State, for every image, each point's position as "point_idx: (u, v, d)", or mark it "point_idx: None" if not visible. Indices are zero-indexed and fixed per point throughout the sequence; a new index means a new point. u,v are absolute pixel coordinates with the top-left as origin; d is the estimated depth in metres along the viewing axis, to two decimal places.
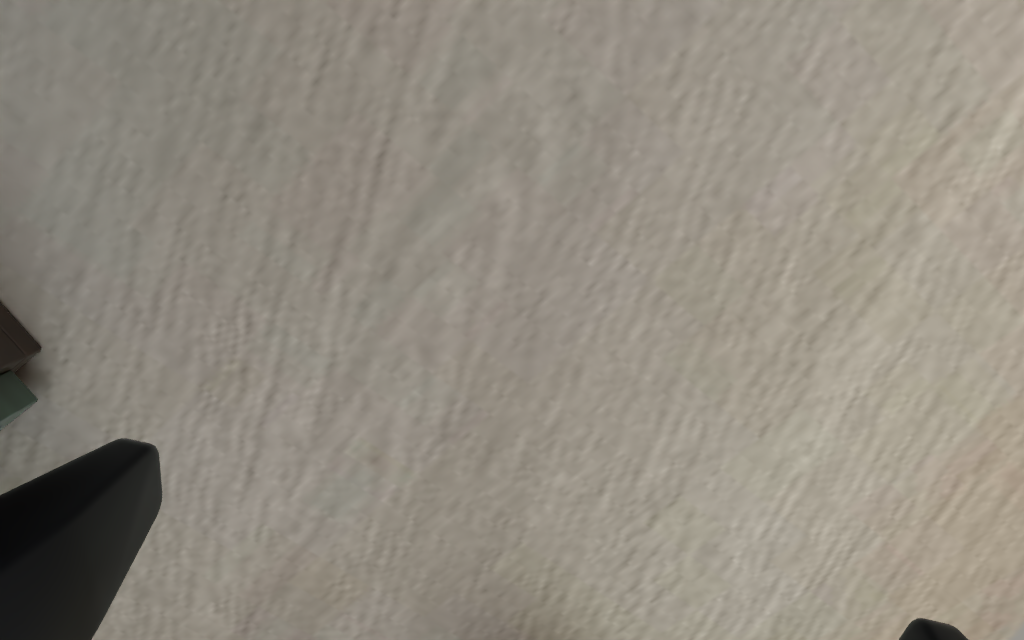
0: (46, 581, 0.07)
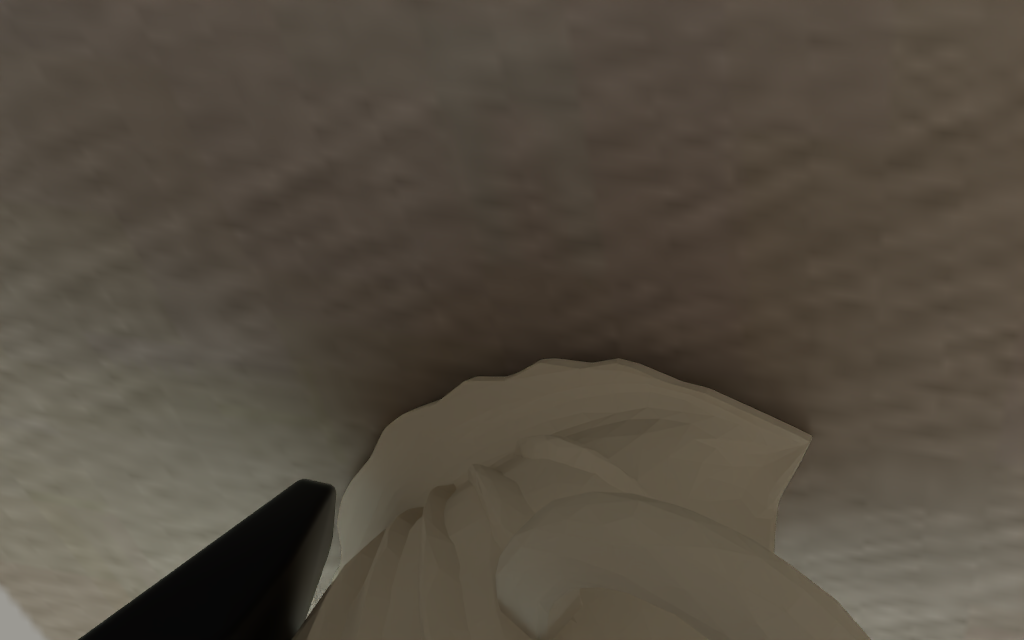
0: (263, 632, 0.07)
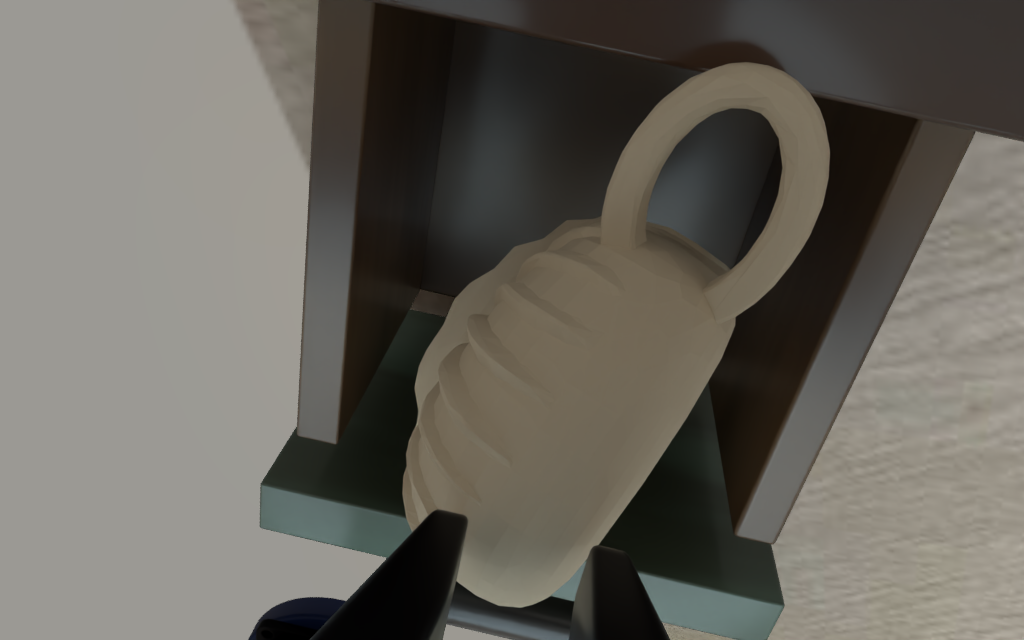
0: None
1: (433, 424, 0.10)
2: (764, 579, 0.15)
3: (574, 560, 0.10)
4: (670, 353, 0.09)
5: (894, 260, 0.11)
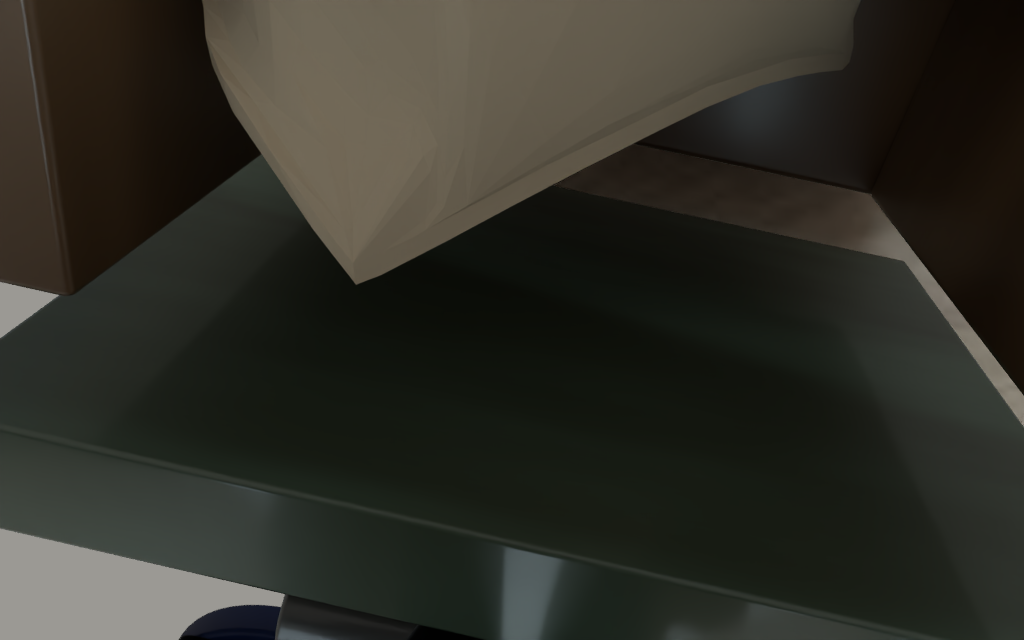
0: None
1: None
2: None
3: None
4: None
5: None
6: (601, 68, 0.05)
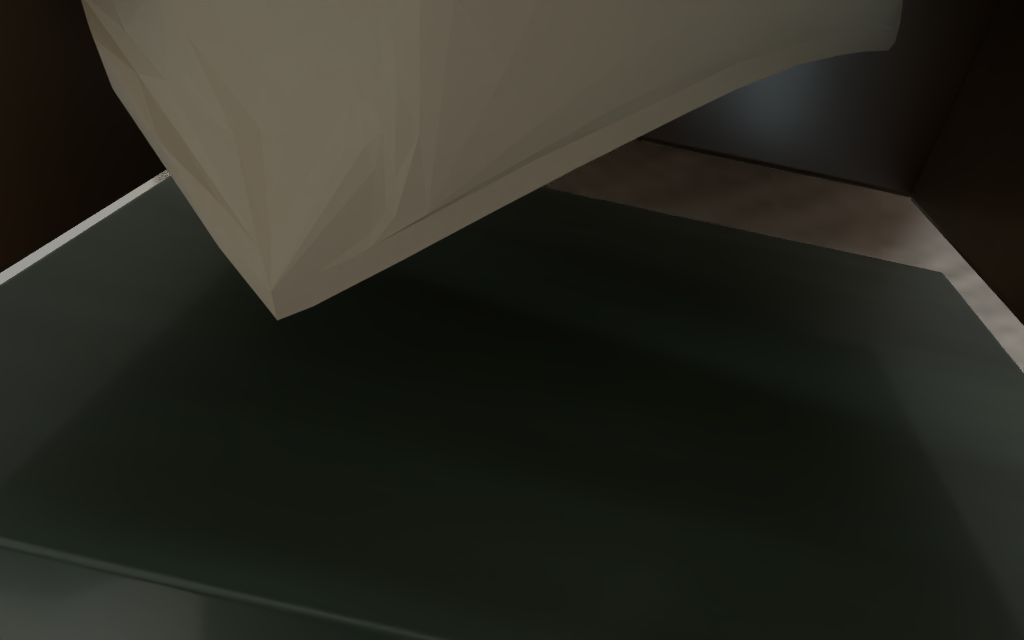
0: None
1: None
2: None
3: None
4: None
5: None
6: (605, 30, 0.04)
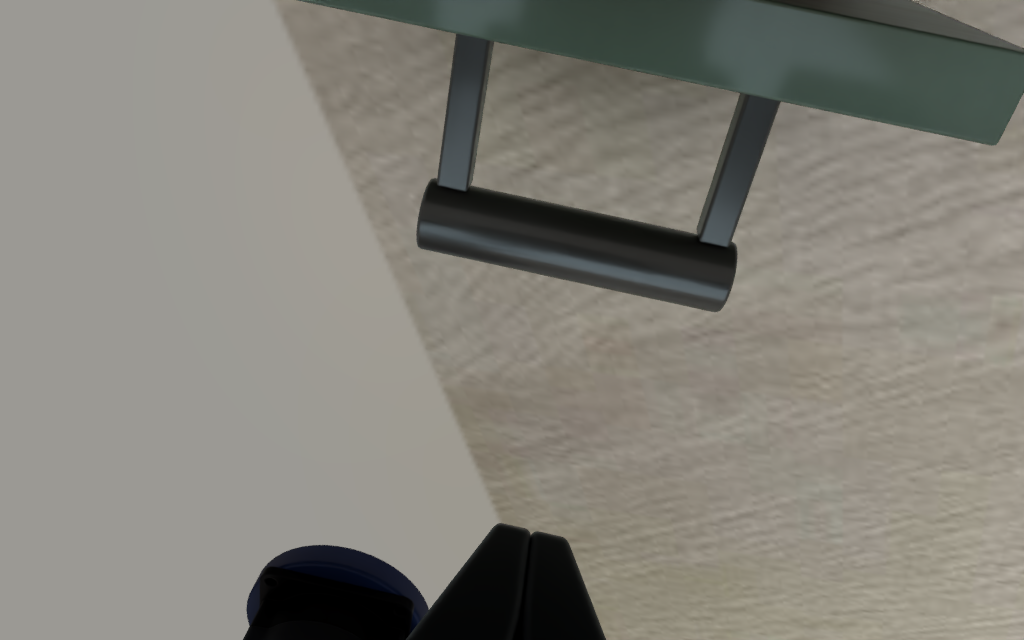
0: None
1: None
2: (1000, 42, 0.10)
3: None
4: None
5: None
6: None
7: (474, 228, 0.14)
